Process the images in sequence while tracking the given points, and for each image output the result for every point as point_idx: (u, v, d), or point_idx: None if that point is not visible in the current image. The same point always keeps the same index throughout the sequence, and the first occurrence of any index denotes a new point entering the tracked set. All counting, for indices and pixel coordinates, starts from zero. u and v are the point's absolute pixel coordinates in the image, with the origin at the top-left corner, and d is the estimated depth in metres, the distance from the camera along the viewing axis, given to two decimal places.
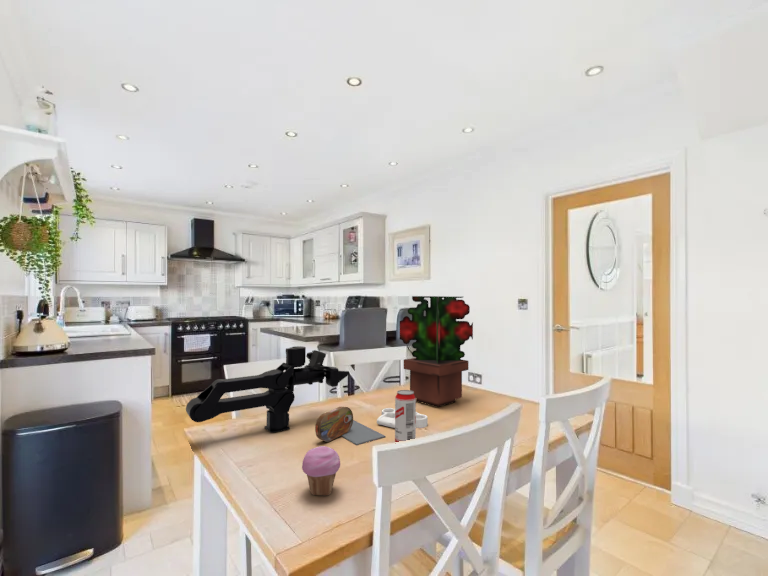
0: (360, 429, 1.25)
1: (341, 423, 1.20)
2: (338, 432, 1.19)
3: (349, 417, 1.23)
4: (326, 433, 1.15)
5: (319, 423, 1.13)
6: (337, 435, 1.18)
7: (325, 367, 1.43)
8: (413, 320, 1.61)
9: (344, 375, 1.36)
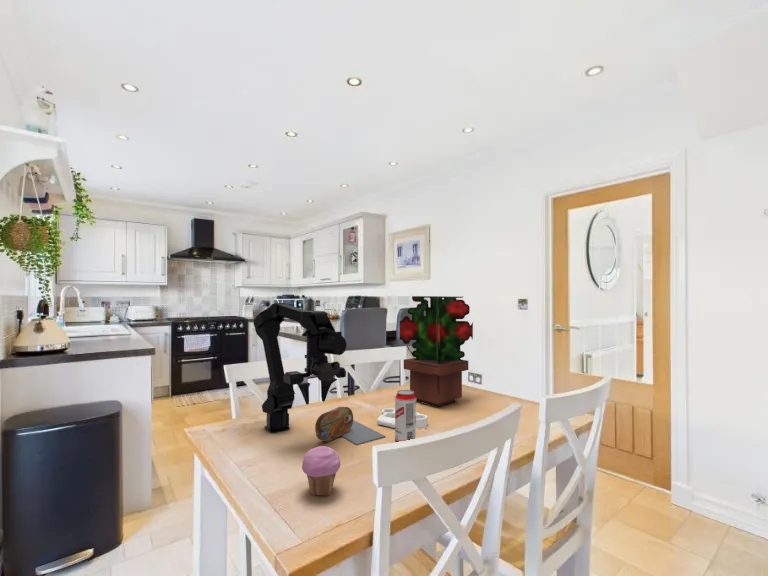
0: (360, 429, 1.25)
1: (341, 423, 1.20)
2: (338, 432, 1.19)
3: (349, 417, 1.23)
4: (326, 433, 1.15)
5: (319, 423, 1.13)
6: (337, 435, 1.18)
7: (325, 386, 1.16)
8: (413, 320, 1.61)
9: (303, 396, 1.13)
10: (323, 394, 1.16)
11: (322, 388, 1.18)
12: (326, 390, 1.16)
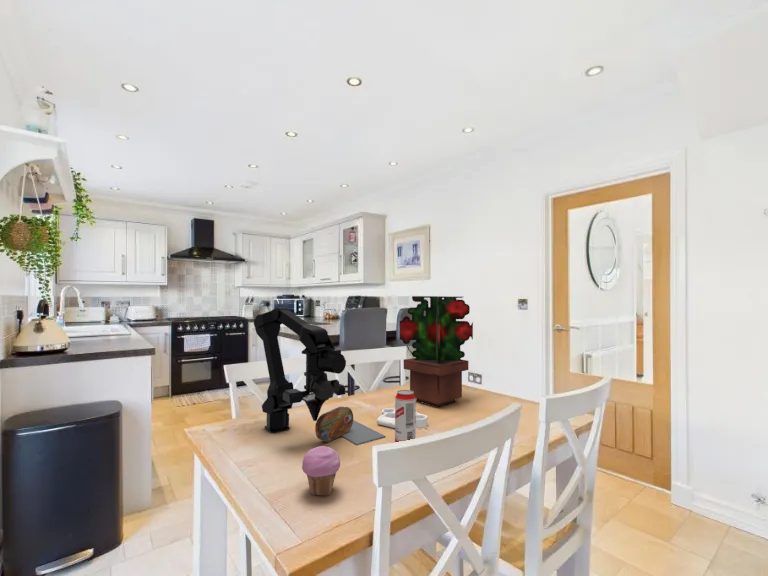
0: (360, 429, 1.25)
1: (341, 423, 1.20)
2: (338, 432, 1.19)
3: (349, 417, 1.23)
4: (326, 433, 1.15)
5: (319, 423, 1.13)
6: (337, 435, 1.18)
7: (317, 405, 1.14)
8: (413, 320, 1.61)
9: (311, 412, 1.15)
10: None
11: None
12: (318, 409, 1.14)
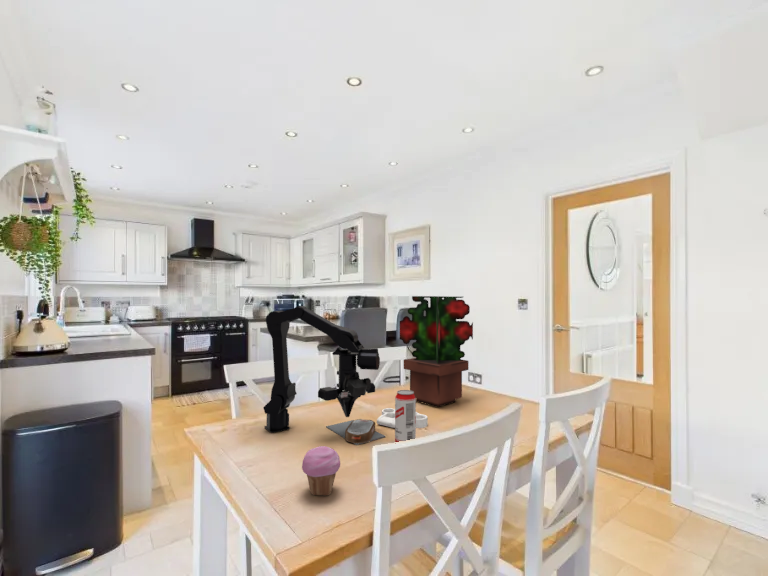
0: None
1: None
2: None
3: None
4: None
5: (362, 440, 1.14)
6: None
7: (350, 402, 1.21)
8: (413, 320, 1.61)
9: (343, 409, 1.21)
10: None
11: None
12: (350, 406, 1.21)
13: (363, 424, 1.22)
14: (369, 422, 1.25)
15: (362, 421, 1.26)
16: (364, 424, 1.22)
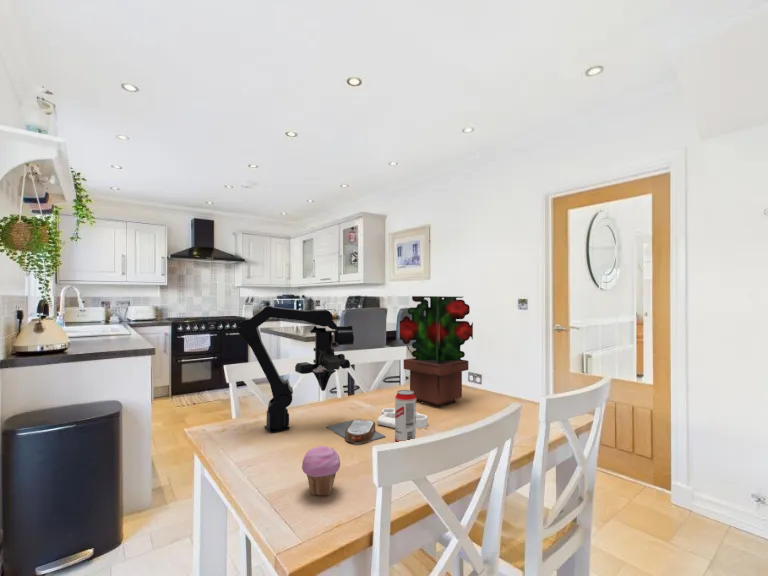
0: None
1: None
2: None
3: None
4: None
5: (362, 440, 1.14)
6: None
7: (325, 377, 1.30)
8: (413, 320, 1.61)
9: (319, 383, 1.30)
10: None
11: None
12: (326, 380, 1.30)
13: (363, 424, 1.22)
14: (369, 422, 1.25)
15: (362, 421, 1.26)
16: (364, 424, 1.22)
